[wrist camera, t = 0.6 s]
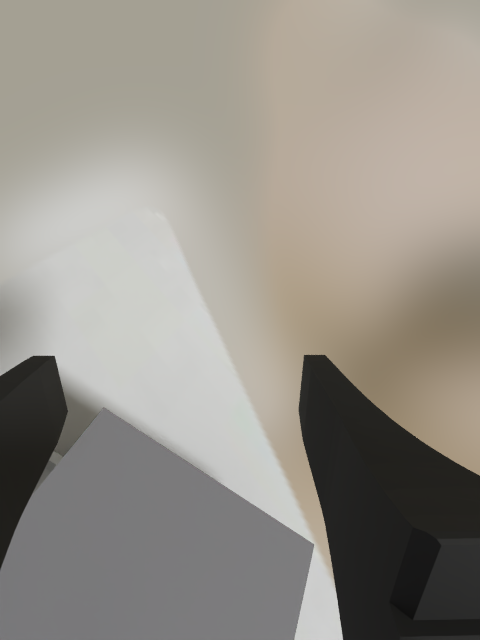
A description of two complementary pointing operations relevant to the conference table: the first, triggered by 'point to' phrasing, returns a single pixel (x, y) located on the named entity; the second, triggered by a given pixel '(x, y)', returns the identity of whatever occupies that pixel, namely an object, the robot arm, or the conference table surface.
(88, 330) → the conference table surface
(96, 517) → the housing
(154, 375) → the conference table surface
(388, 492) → the robot arm
